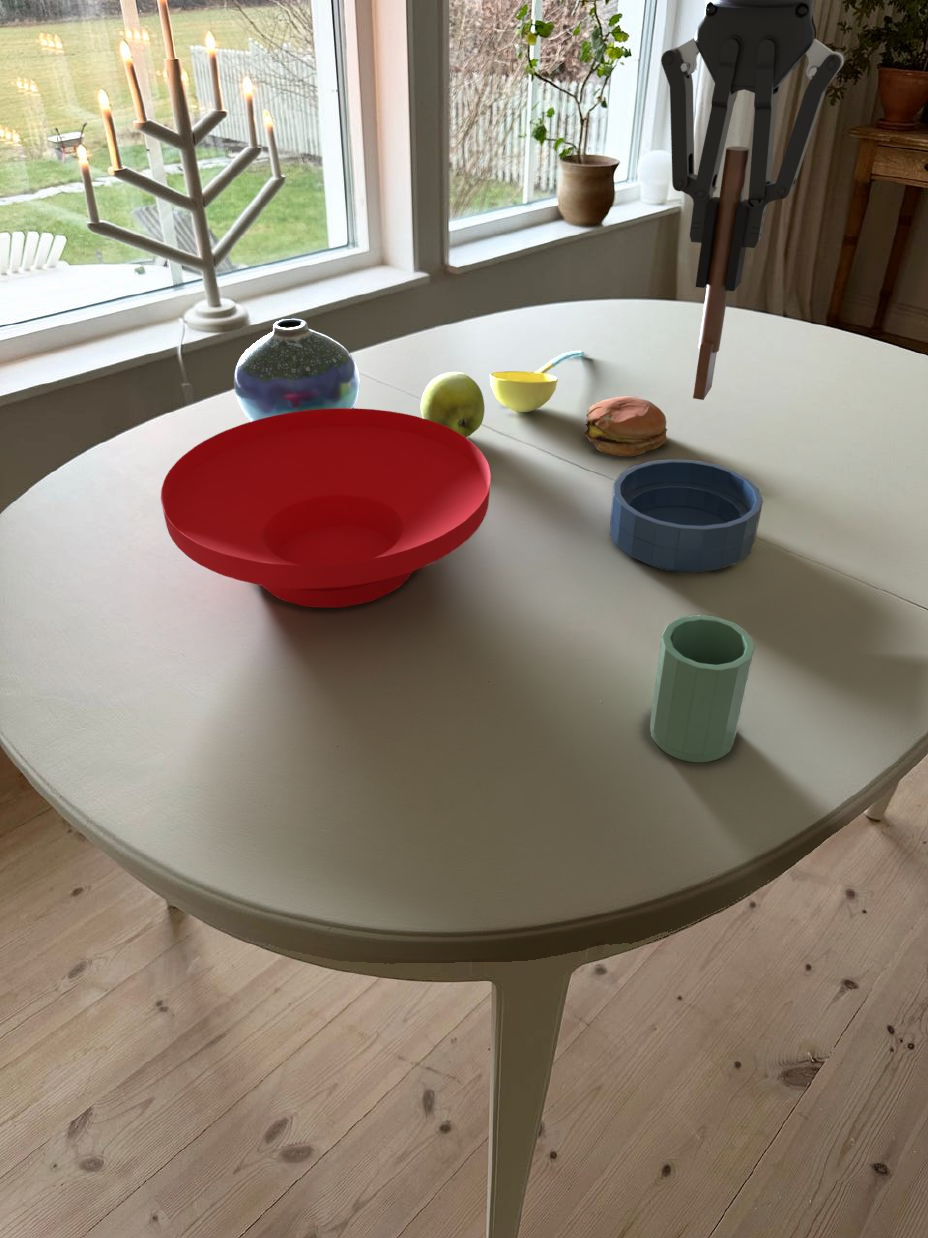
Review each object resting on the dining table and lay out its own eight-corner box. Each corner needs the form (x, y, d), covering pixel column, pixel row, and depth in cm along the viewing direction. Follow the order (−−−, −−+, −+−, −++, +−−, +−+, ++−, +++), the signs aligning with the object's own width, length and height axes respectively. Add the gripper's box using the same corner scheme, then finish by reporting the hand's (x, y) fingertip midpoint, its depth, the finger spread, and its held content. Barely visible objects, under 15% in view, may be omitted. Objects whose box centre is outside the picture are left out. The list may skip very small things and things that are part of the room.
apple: (471, 418, 120) (471, 358, 115) (494, 447, 113) (495, 384, 108) (413, 426, 118) (410, 366, 113) (433, 456, 111) (431, 393, 106)
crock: (742, 718, 73) (762, 627, 67) (724, 773, 68) (744, 679, 63) (662, 696, 75) (675, 606, 70) (639, 748, 70) (652, 655, 65)
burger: (675, 434, 115) (679, 399, 112) (648, 464, 108) (652, 428, 106) (601, 419, 119) (604, 384, 116) (571, 448, 112) (573, 412, 110)
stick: (715, 388, 84) (753, 145, 72) (708, 401, 82) (746, 152, 70) (696, 385, 85) (730, 143, 73) (688, 397, 83) (722, 150, 71)
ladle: (476, 412, 119) (479, 366, 117) (549, 385, 141) (553, 346, 139) (540, 421, 116) (543, 374, 113) (605, 392, 138) (609, 352, 135)
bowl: (164, 521, 99) (144, 435, 93) (431, 471, 108) (427, 389, 102) (206, 693, 76) (183, 593, 70) (540, 612, 85) (544, 517, 79)
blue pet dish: (764, 521, 97) (774, 474, 94) (736, 591, 87) (746, 541, 84) (632, 495, 102) (637, 449, 99) (590, 559, 92) (594, 510, 89)
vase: (222, 423, 120) (203, 320, 112) (325, 394, 127) (314, 296, 119) (277, 465, 110) (261, 356, 102) (386, 431, 117) (378, 326, 109)
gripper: (649, -61, 64) (620, 286, 78) (878, -65, 58) (802, 308, 72) (676, -62, 69) (644, 263, 83) (887, -65, 64) (815, 282, 78)
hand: (718, 283), depth 78 cm, fingers closed on stick, 2 cm apart
